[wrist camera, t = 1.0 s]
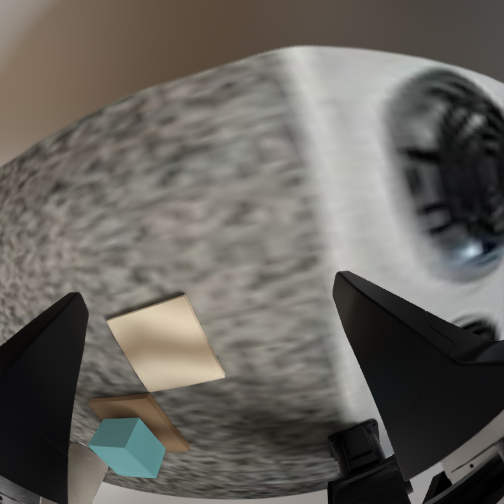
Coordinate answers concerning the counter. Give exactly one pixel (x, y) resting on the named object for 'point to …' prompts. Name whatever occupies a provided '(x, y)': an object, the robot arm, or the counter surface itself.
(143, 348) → the board
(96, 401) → the post stand
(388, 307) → the robot arm
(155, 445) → the teal cube
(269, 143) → the counter surface
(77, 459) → the thermos bottle
